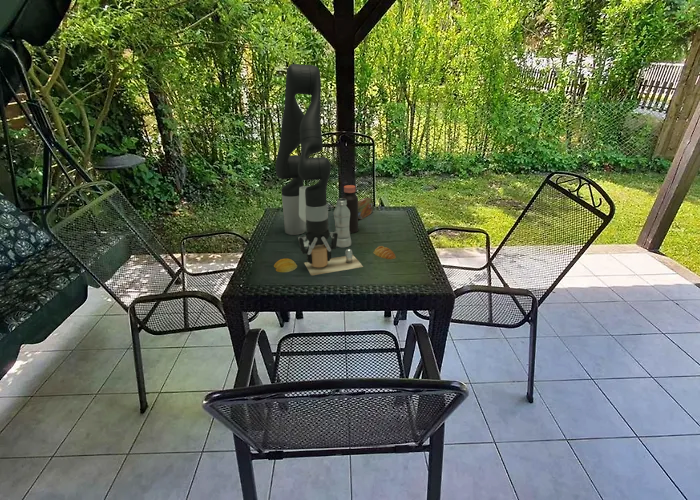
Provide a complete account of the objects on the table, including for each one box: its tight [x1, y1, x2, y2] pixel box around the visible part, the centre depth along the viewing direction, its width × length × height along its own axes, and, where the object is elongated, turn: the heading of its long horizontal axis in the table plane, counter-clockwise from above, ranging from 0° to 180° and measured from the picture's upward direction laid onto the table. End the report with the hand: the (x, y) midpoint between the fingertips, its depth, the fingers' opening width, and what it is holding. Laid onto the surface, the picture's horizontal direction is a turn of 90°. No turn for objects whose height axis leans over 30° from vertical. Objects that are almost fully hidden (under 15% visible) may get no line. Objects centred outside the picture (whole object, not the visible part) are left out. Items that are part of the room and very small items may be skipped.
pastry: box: [373, 245, 397, 260], centre depth 160 cm, size 9×7×4 cm
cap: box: [311, 244, 328, 267], centre depth 150 cm, size 6×6×6 cm
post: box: [345, 248, 353, 264], centre depth 154 cm, size 2×2×5 cm
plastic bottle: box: [332, 198, 352, 249], centre depth 167 cm, size 6×7×20 cm
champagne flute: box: [299, 185, 309, 248], centre depth 169 cm, size 7×7×24 cm
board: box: [303, 254, 364, 276], centre depth 153 cm, size 11×19×2 cm, turn 109°
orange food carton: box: [358, 197, 374, 220], centre depth 204 cm, size 15×3×8 cm, turn 147°
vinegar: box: [341, 184, 359, 234], centre depth 184 cm, size 7×7×20 cm
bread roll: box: [273, 257, 298, 273], centre depth 152 cm, size 8×9×4 cm
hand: (319, 261), depth 151 cm, fingers closed on cap, 5 cm apart
